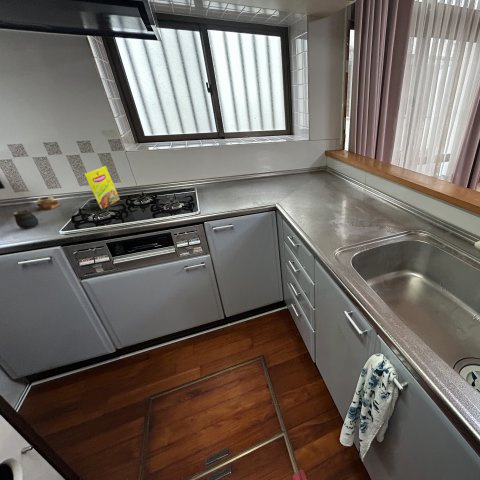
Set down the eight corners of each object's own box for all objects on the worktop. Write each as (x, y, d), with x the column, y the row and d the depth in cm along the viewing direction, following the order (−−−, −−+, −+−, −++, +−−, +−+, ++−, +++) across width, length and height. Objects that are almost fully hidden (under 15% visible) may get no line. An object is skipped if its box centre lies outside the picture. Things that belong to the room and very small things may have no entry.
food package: (102, 209, 146) (85, 173, 136) (100, 209, 146) (83, 173, 136) (120, 199, 159) (106, 165, 149) (118, 199, 159) (104, 165, 149)
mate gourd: (39, 222, 133) (27, 203, 128) (42, 226, 129) (30, 207, 124) (19, 227, 129) (6, 208, 123) (21, 232, 124) (8, 212, 119)
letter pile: (33, 210, 146) (28, 201, 143) (48, 204, 154) (42, 195, 151) (51, 210, 146) (45, 201, 143) (64, 203, 154) (59, 195, 151)
